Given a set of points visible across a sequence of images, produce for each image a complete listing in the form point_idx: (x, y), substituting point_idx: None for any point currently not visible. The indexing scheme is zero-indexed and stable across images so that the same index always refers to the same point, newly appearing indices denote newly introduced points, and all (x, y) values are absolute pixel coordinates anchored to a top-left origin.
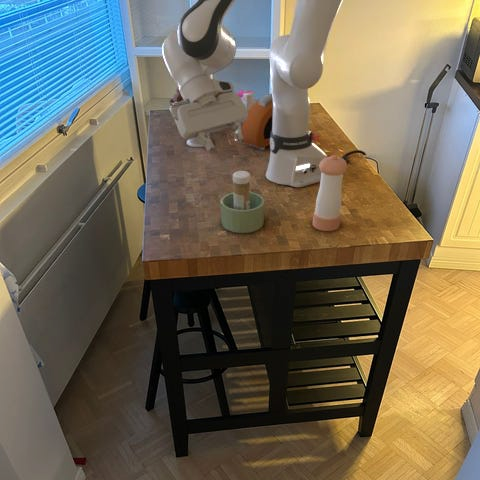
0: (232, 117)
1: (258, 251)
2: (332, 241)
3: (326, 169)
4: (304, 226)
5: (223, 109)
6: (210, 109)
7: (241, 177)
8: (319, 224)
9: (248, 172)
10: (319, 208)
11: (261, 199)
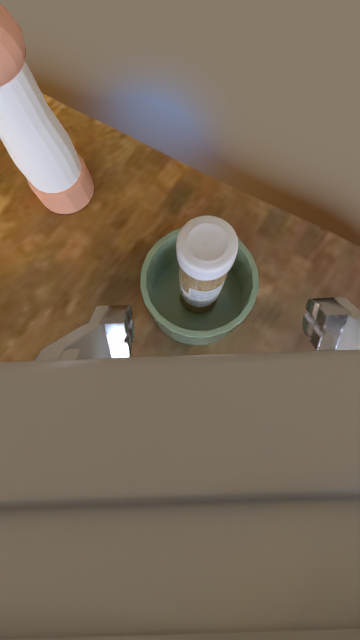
0: (77, 373)
1: (240, 194)
2: (107, 144)
3: (18, 28)
4: (104, 209)
5: (110, 477)
6: (327, 542)
7: (224, 221)
8: (89, 175)
9: (179, 238)
10: (73, 155)
11: (151, 258)
